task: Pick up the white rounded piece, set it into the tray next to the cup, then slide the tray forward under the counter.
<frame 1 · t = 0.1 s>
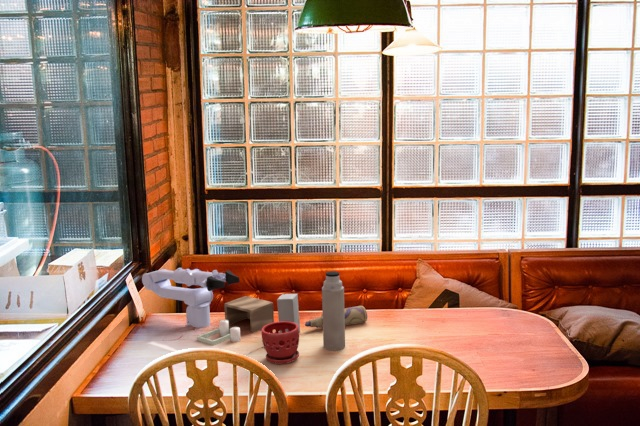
hand: (231, 282, 249), 22 cm above the table, tool horizontal, fingers open, 7 cm apart
skincare box: (289, 335, 252), on the table
thermos bottle: (334, 346, 240), on the table
cup b: (224, 334, 252), point 1 cm above the table
plant pot: (281, 359, 230), on the table
decorative bottle: (336, 326, 262), on the table
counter: (249, 326, 263), on the table
white rounded piece a: (235, 342, 247), on the table
tray: (218, 341, 250), on the table
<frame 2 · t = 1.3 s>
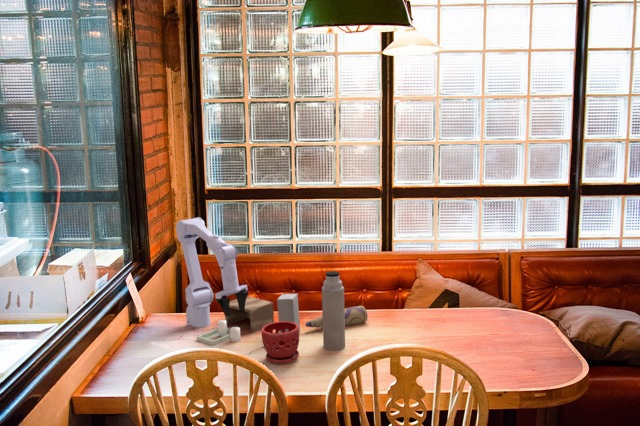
hand: (234, 313, 245), 11 cm above the table, tool pointing down, fingers open, 7 cm apart
cup b: (223, 334, 252), point 1 cm above the table, tilted 6°, touching tray
tray: (218, 341, 250), on the table, touching cup b
everything else where it was.
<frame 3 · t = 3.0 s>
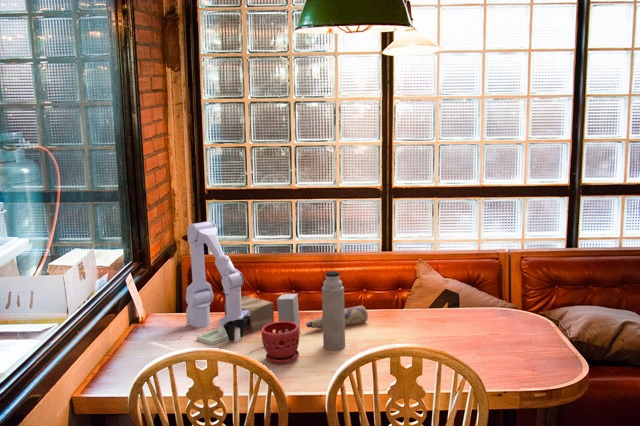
hand: (235, 338, 247), 1 cm above the table, tool pointing down, fingers closed on white rounded piece a, 4 cm apart
cup b: (221, 334, 251), point 1 cm above the table, tilted 18°, touching tray
white rounded piece a: (235, 342, 247), on the table, touching gripper
everything else where it was.
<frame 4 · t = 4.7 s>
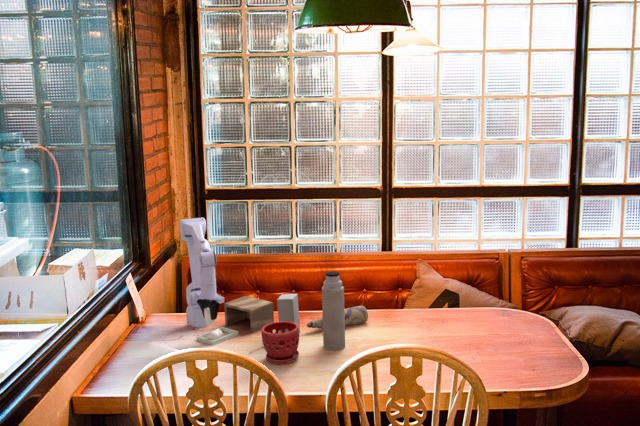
hand: (210, 318, 246), 10 cm above the table, tool pointing down, fingers closed on white rounded piece a, 4 cm apart
cup b: (218, 333, 249), point 3 cm above the table, tilted 90°, touching tray
white rounded piece a: (209, 323, 246), point 8 cm above the table, touching gripper
everything else where it was.
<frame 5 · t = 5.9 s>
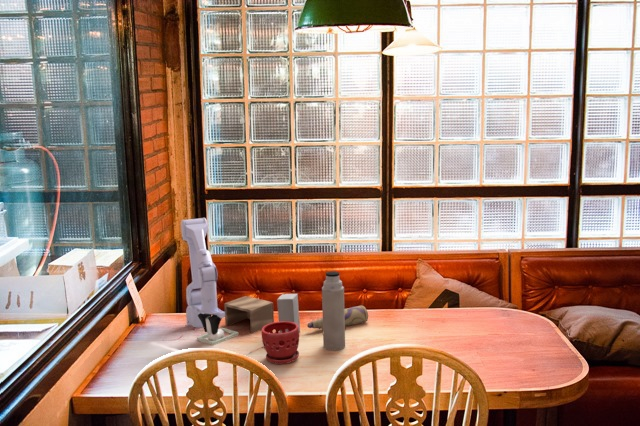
hand: (211, 332, 247), 4 cm above the table, tool pointing down, fingers closed on white rounded piece a, 3 cm apart
cup b: (220, 333, 250), point 2 cm above the table, tilted 91°, touching gripper
white rounded piece a: (211, 331, 247), point 4 cm above the table, touching gripper
tray: (218, 342, 250), on the table
everything else where it was.
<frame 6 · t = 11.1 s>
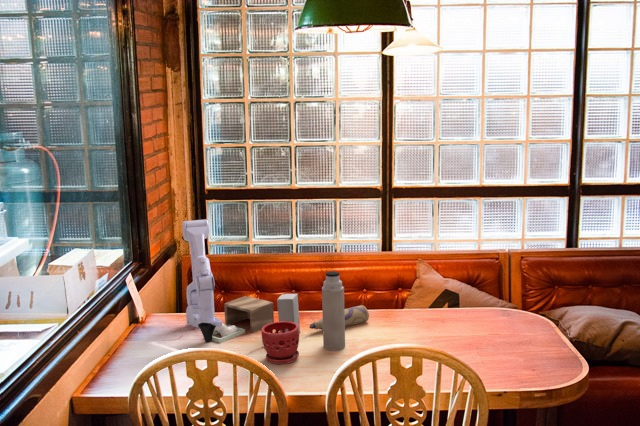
hand: (208, 341, 246), 1 cm above the table, tool pointing down, fingers closed
cup b: (234, 329, 253), point 3 cm above the table, tilted 90°, touching tray
white rounded piece a: (224, 330, 251), point 3 cm above the table, tilted 72°, touching tray
tray: (225, 339, 252), on the table, touching white rounded piece a, cup b, gripper
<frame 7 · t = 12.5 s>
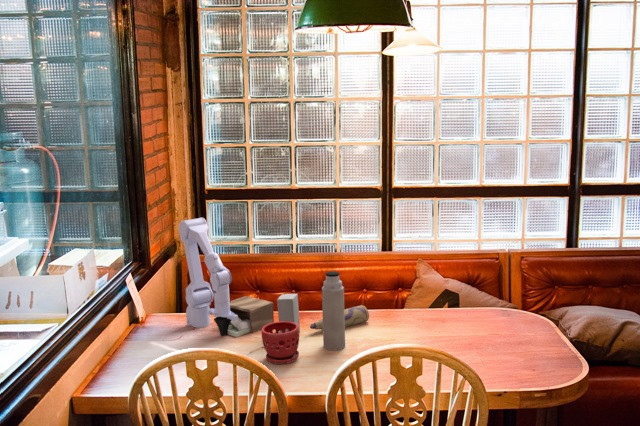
hand: (223, 335, 252), 1 cm above the table, tool pointing down, fingers closed
cup b: (250, 323, 258), point 3 cm above the table, tilted 90°, touching white rounded piece a, tray
white rounded piece a: (240, 325, 257), point 3 cm above the table, tilted 67°, touching cup b
tray: (241, 333, 258), on the table, touching cup b
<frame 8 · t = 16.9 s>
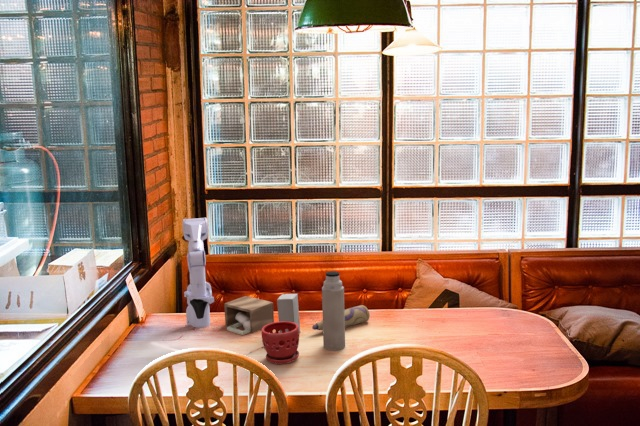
hand: (200, 318, 245), 10 cm above the table, tool pointing down, fingers closed
cup b: (256, 322, 260), point 3 cm above the table, tilted 90°, touching tray
white rounded piece a: (248, 322, 259), point 3 cm above the table, tilted 73°
tray: (247, 331, 260), on the table, touching cup b
at the end: tray inside the target area (1.7 cm from its centre), on the table; white rounded piece a 0.6 cm from the tray (horizontally); cup b 3.9 cm from the tray (horizontally) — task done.
